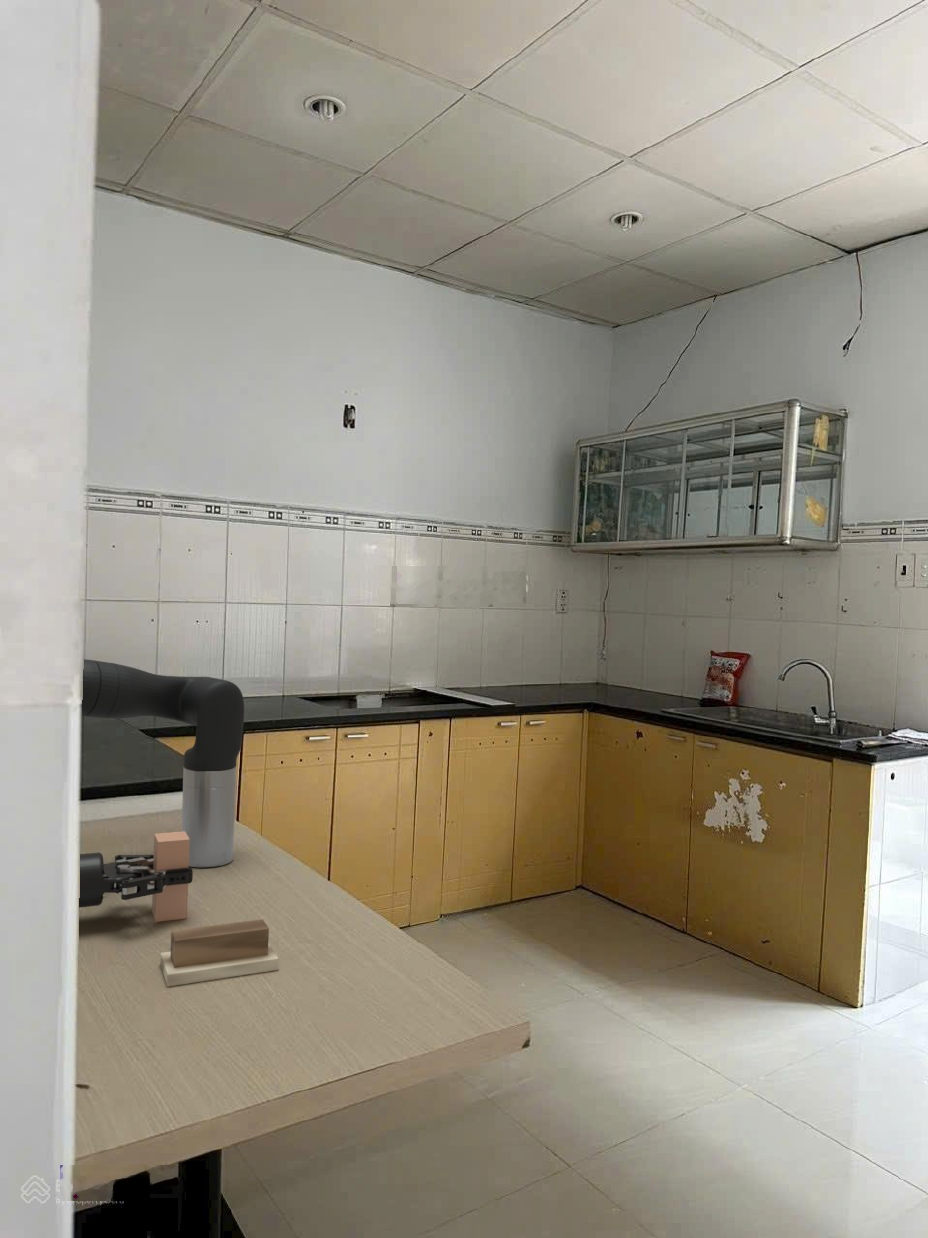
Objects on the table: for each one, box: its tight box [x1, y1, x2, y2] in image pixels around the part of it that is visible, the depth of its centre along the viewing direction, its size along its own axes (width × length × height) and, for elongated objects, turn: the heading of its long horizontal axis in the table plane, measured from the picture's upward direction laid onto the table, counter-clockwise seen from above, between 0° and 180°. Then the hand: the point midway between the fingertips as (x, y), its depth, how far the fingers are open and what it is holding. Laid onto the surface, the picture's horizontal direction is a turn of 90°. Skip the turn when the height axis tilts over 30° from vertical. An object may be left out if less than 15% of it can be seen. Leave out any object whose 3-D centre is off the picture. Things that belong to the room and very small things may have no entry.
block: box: [151, 831, 190, 923], centre depth 133 cm, size 4×4×12 cm
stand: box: [160, 918, 280, 987], centre depth 117 cm, size 7×14×5 cm, turn 116°
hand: (188, 869), depth 135 cm, fingers closed on block, 4 cm apart
